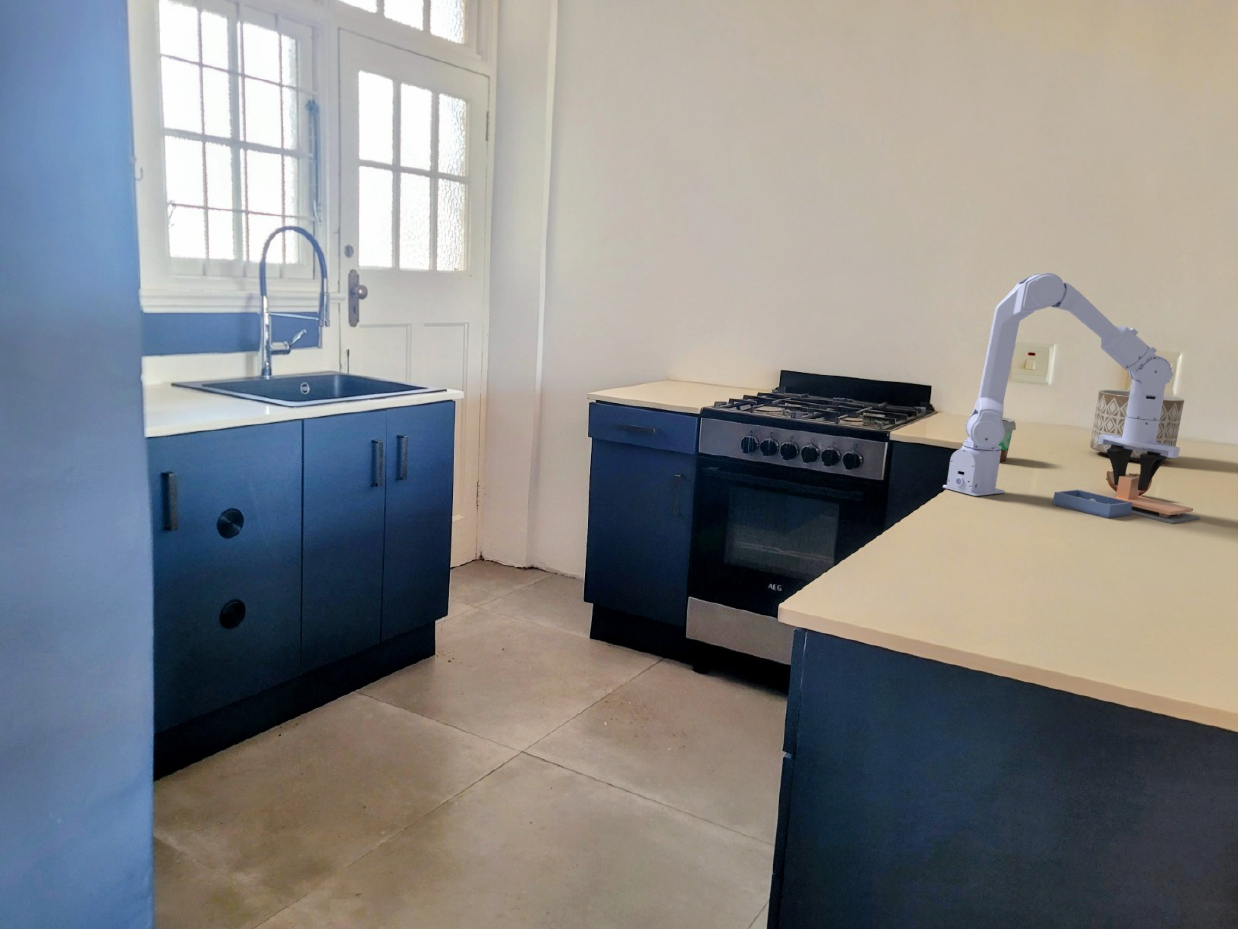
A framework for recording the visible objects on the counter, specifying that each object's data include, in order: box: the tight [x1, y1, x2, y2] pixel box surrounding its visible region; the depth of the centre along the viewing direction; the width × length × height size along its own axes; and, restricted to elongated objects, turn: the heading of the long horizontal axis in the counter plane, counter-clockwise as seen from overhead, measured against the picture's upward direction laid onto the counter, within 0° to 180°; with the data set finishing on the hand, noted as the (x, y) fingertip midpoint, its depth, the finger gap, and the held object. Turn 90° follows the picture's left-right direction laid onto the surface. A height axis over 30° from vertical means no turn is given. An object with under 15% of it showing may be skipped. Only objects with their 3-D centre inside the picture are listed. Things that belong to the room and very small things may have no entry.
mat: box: [1131, 506, 1201, 525], centre depth 179 cm, size 10×13×1 cm
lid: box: [1110, 475, 1194, 517], centre depth 178 cm, size 8×12×6 cm
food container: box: [998, 416, 1017, 463], centre depth 227 cm, size 12×6×10 cm, turn 168°
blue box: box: [1052, 489, 1133, 519], centre depth 178 cm, size 8×11×2 cm
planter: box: [1089, 389, 1185, 462], centre depth 242 cm, size 19×19×16 cm
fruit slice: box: [1105, 470, 1153, 496], centre depth 193 cm, size 8×7×5 cm
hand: (1130, 487), depth 182 cm, fingers open, 4 cm apart
